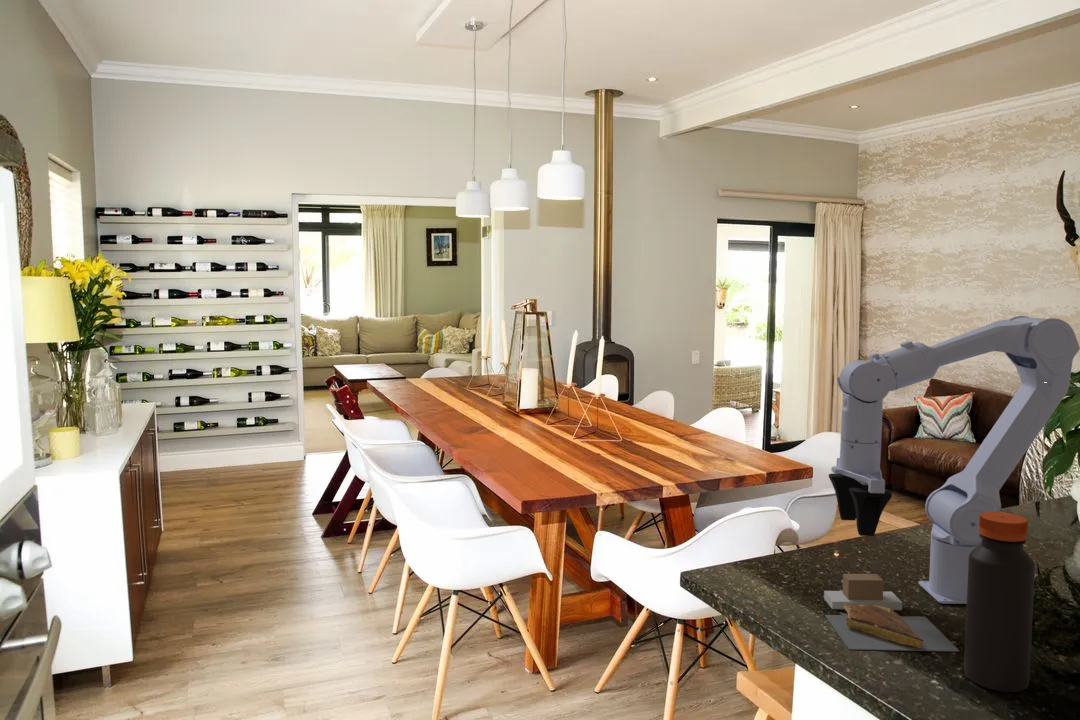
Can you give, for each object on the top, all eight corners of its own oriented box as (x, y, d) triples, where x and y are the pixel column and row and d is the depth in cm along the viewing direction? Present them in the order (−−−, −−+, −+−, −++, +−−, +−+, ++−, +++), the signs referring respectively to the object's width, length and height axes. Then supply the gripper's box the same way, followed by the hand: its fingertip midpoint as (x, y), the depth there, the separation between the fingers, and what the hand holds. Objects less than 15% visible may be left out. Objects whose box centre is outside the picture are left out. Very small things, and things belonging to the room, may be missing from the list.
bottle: (1000, 663, 97) (1008, 507, 96) (1042, 691, 91) (1051, 524, 89) (951, 667, 96) (957, 510, 95) (990, 696, 90) (998, 527, 88)
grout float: (891, 601, 118) (892, 572, 117) (902, 612, 114) (902, 582, 113) (824, 600, 118) (824, 571, 118) (832, 611, 114) (832, 581, 114)
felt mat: (925, 617, 111) (925, 616, 111) (959, 651, 101) (959, 650, 101) (824, 615, 112) (824, 614, 112) (849, 649, 102) (849, 648, 102)
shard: (923, 652, 100) (924, 638, 100) (863, 651, 101) (863, 637, 101) (890, 616, 111) (891, 604, 111) (836, 615, 112) (836, 603, 112)
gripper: (818, 430, 125) (815, 512, 127) (851, 449, 111) (847, 542, 112) (863, 431, 125) (859, 513, 126) (901, 450, 111) (896, 543, 112)
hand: (856, 527), depth 119 cm, fingers open, 7 cm apart
